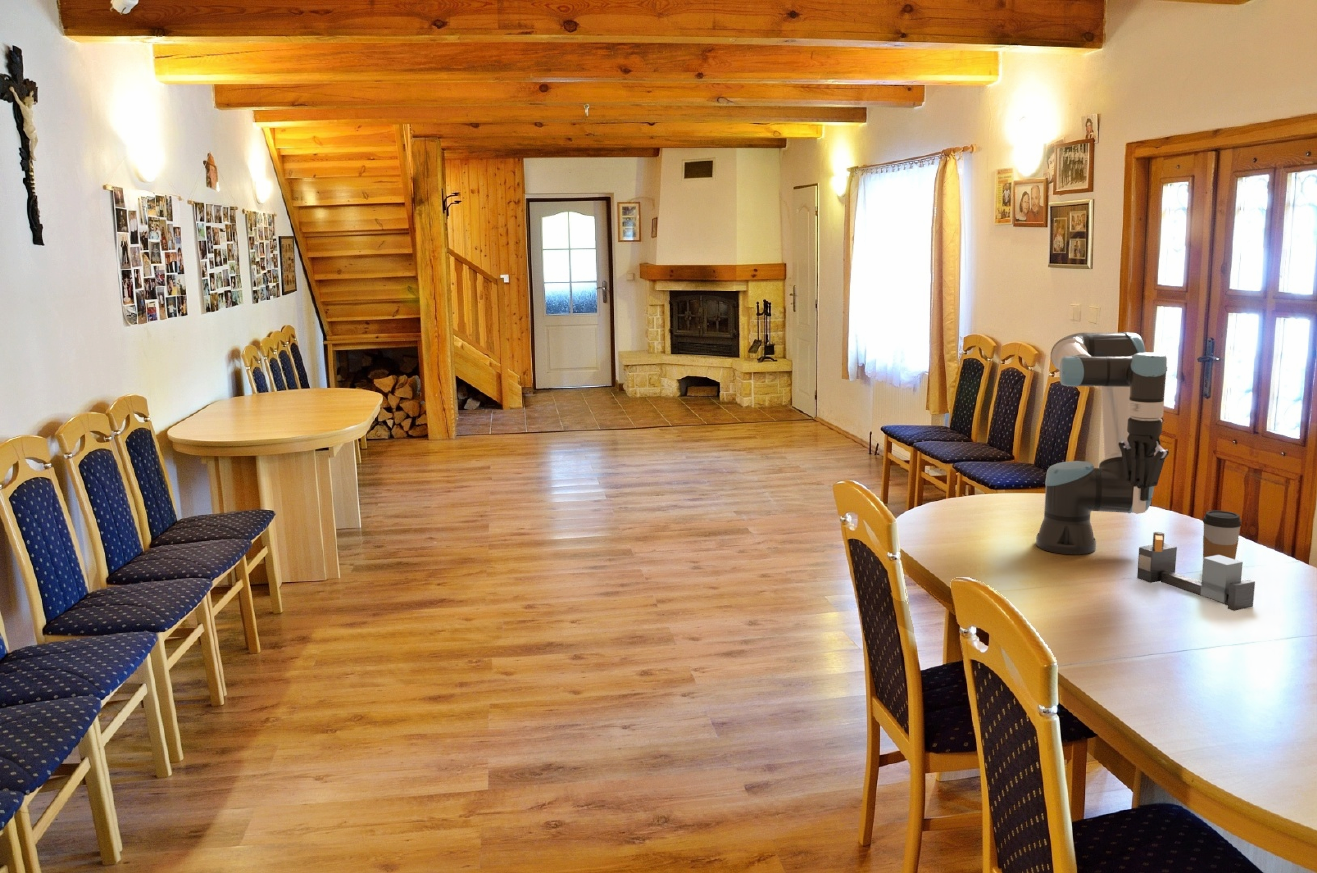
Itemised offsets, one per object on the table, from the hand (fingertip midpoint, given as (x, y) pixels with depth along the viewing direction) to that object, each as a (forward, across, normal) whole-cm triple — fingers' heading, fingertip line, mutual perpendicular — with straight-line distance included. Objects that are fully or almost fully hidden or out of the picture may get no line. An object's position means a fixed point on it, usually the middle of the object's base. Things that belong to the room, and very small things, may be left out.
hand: (1138, 512), depth 241 cm
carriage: (+16, +21, +4) cm, 27 cm away
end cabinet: (+17, +3, +4) cm, 17 cm away
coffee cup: (+17, +7, +21) cm, 28 cm away
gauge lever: (+8, +4, +2) cm, 10 cm away
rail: (+16, +15, +4) cm, 23 cm away
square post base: (+16, +26, +4) cm, 31 cm away
